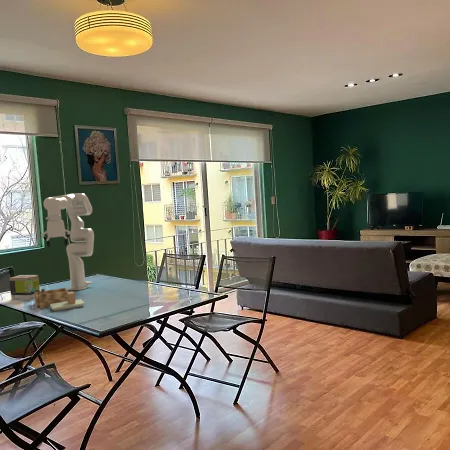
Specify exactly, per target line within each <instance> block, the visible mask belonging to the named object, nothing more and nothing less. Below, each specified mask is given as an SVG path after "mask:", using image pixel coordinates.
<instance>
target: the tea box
mask: <svg viewBox="0 0 450 450" xmlns="http://www.w3.org/2000/svg"><path fill="white" fill-rule="evenodd" d="M8 278H9V279H8V280H9V287H10V288H9V289H10V299H11V301H33V300H35V293H34V292H40V291H41V289H40V278H39V274H25V275H24V274H20V275H16V276H13V277H8Z"/></svg>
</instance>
